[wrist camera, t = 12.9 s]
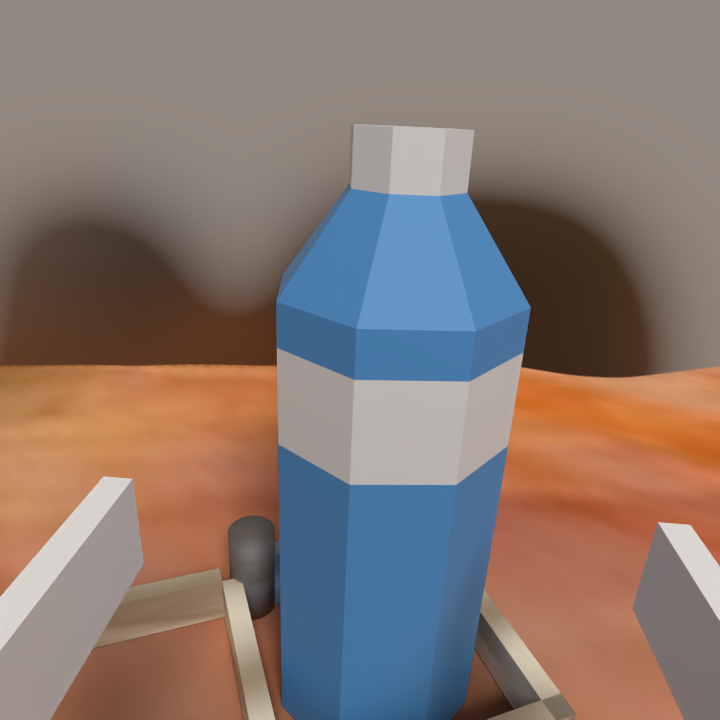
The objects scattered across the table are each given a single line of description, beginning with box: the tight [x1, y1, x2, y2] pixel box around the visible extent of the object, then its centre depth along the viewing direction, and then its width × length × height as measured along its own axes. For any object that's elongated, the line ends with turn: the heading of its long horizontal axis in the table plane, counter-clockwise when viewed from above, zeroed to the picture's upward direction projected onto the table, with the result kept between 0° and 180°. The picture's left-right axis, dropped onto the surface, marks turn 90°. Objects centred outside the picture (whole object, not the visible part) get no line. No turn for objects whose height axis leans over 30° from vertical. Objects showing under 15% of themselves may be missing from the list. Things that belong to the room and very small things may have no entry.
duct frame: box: [93, 516, 576, 720], centre depth 26 cm, size 14×26×5 cm, turn 110°
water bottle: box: [276, 124, 531, 720], centre depth 24 cm, size 9×9×25 cm
